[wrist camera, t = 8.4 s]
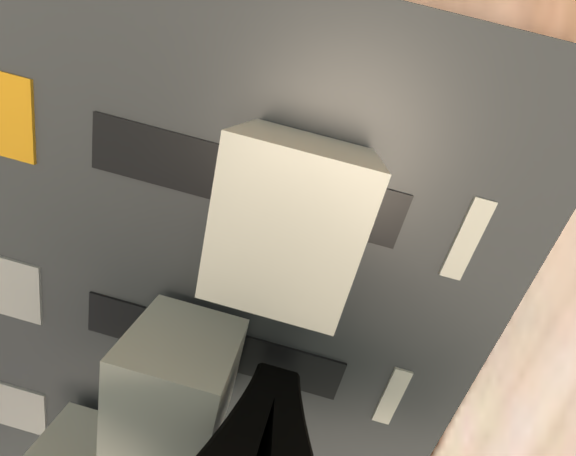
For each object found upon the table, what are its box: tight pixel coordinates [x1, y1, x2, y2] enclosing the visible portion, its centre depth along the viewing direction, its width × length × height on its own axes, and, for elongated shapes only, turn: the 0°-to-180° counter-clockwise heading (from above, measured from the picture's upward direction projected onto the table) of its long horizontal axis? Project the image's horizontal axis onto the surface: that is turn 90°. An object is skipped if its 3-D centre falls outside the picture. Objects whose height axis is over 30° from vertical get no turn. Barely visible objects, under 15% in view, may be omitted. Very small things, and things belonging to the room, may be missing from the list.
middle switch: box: [96, 294, 249, 456], centre depth 10 cm, size 3×4×3 cm
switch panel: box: [0, 0, 576, 456], centre depth 13 cm, size 18×22×3 cm
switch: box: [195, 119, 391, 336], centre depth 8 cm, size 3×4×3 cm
